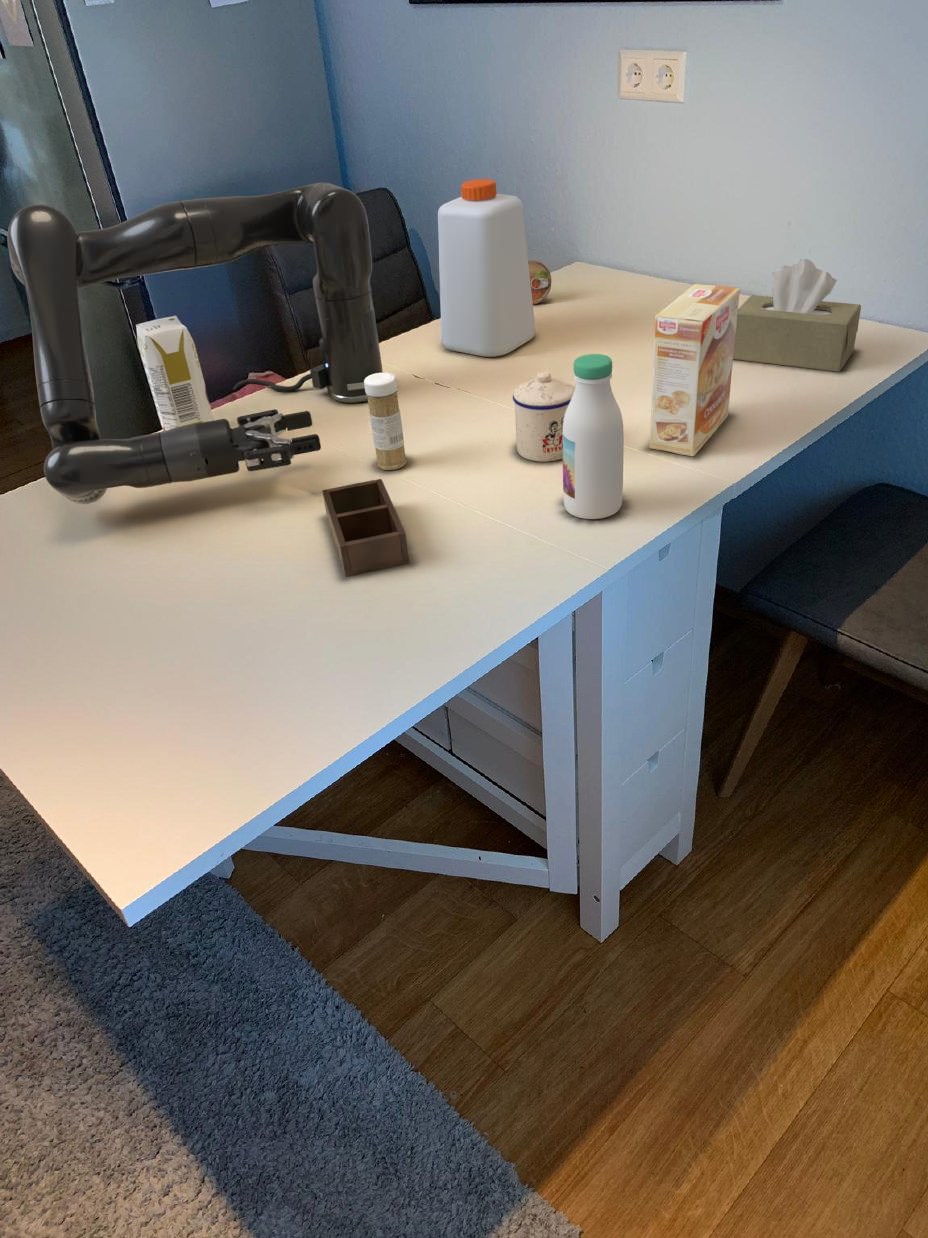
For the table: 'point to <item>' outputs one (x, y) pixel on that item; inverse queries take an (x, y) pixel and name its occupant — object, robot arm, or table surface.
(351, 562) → the holder
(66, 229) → the robot arm
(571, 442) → the milk bottle
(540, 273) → the tin
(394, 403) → the sprinkles bottle
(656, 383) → the coffeecake box
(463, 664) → the table surface
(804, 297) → the tissue box
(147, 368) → the juice carton
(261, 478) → the table surface
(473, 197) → the plastic bottle
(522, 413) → the teacup with lid
